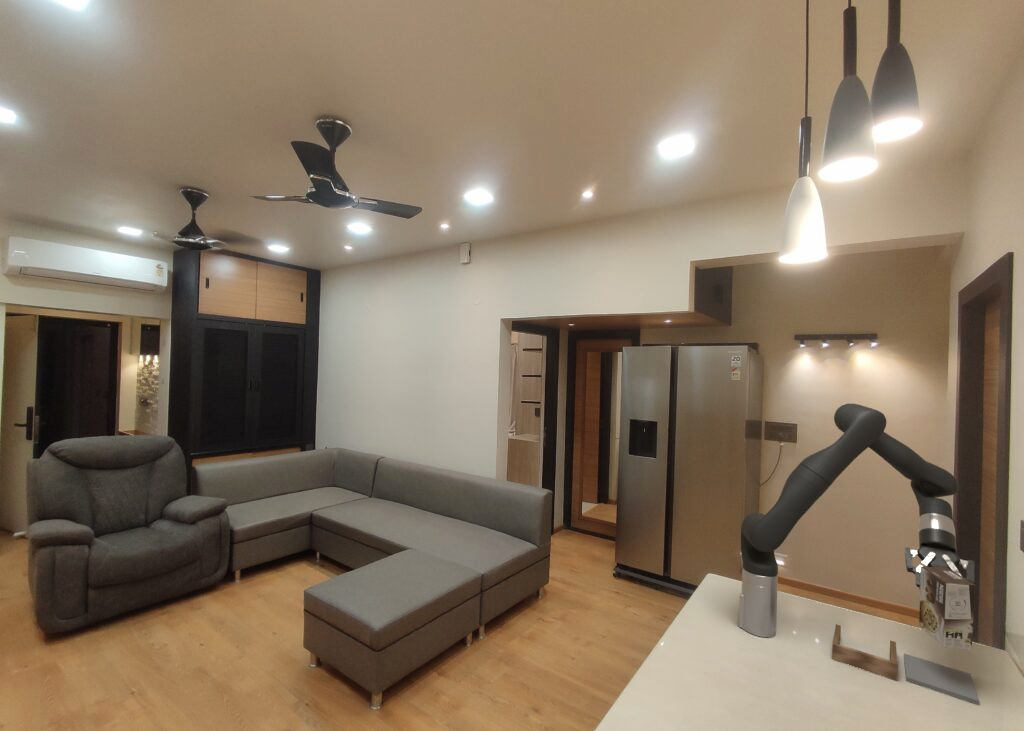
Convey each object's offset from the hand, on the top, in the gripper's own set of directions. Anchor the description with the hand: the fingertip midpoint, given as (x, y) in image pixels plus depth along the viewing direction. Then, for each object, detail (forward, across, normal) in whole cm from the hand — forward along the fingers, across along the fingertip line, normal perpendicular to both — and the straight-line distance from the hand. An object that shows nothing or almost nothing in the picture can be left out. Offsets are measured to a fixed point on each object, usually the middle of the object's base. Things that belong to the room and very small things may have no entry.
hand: (940, 592), depth 120 cm
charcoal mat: (+16, 0, +14) cm, 21 cm away
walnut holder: (+17, -15, +13) cm, 26 cm away
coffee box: (+9, +1, +6) cm, 10 cm away
